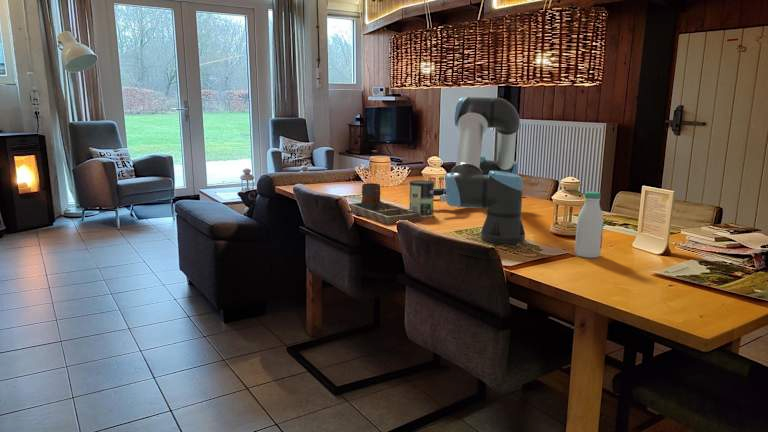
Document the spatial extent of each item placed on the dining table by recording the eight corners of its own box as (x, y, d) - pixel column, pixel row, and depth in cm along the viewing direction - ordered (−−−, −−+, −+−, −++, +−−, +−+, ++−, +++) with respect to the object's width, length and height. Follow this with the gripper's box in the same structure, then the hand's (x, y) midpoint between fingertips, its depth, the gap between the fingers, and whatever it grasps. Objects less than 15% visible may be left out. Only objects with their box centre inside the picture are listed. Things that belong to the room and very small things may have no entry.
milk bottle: (597, 259, 169) (603, 195, 165) (571, 256, 173) (576, 192, 169) (602, 254, 176) (608, 191, 172) (577, 250, 180) (582, 189, 176)
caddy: (421, 220, 222) (421, 213, 222) (387, 224, 214) (387, 217, 213) (379, 207, 249) (379, 200, 248) (348, 210, 241) (348, 203, 240)
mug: (369, 215, 231) (369, 187, 229) (357, 210, 242) (357, 183, 240) (387, 213, 235) (388, 186, 233) (375, 208, 246) (376, 182, 243)
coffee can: (434, 213, 238) (435, 180, 235) (431, 218, 228) (432, 183, 225) (410, 212, 240) (411, 179, 237) (406, 216, 230) (407, 182, 227)
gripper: (483, 204, 241) (450, 209, 227) (440, 196, 259) (408, 201, 245) (484, 186, 240) (451, 191, 226) (441, 180, 258) (408, 184, 244)
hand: (428, 196), depth 236 cm, fingers open, 13 cm apart
